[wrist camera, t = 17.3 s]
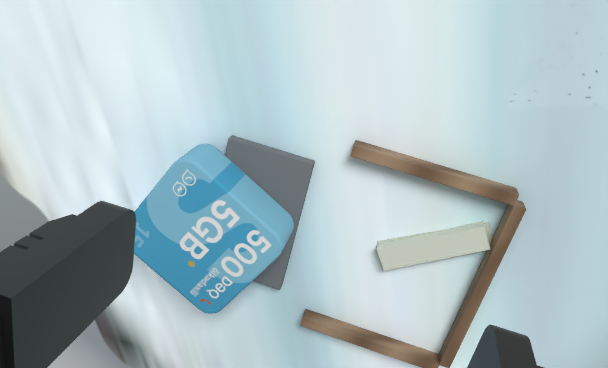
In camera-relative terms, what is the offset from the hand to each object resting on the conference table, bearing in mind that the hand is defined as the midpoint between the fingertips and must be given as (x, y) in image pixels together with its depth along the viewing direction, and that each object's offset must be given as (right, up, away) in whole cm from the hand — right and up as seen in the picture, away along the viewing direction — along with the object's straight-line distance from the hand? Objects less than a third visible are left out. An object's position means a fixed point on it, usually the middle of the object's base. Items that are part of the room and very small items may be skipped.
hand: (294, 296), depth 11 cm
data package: (-13, +2, +35) cm, 38 cm away
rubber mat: (-4, 0, +37) cm, 38 cm away
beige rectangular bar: (+12, -3, +36) cm, 38 cm away
